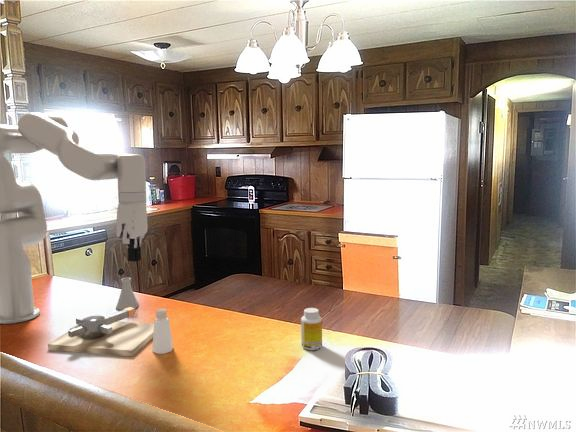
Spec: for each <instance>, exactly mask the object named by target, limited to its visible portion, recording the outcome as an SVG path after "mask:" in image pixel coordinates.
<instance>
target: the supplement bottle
mask: <svg viewBox="0 0 576 432" xmlns="http://www.w3.org/2000/svg"><path fill="white" fill-rule="evenodd" d="M319 311H320V310H319V309H318V308H316V307H308V308H305V309H304V310H303V316H301V318H300V327H301V328H300V330H301V335H300V336H301V347H302V349H304V350H307V351H317V350H320V349H321V348H322V347H323V317H321V315H320V312H319ZM319 348H320V349H319ZM316 349H317V350H316Z"/></svg>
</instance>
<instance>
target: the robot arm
mask: <svg viewBox="0 0 576 432" xmlns="http://www.w3.org/2000/svg"><path fill="white" fill-rule="evenodd" d="M79 141H80V139H79V135H78V134H77V133H76V131H74V130H72V129H70V128H69V127H68V123H67V122H66V121H65V119H63V118H62V117H61V116H59V115H56V114H50V113H41V112H29V113H25V114H23V115H22V116H21V117H19V119H18V121H17V125H10V124H0V215H2V216H3V215H10V214H17V216H16V217H8V218H3V219H0V324H1V325H8V324H9V325H10V324H19V323H23V322H26V321H30V320H32V319H35V318H37V317H38V316H39V315H40V314H41V311H40V310H41V309H40V308H38V307H36V306H35V303H34V291H33V289H34V288H33V280H32V278H33V277H32V269H31V260H30V257H29V255H28V254H27V252H26V251H25V249H24V247H26V246H31V245H34V244H37V243H40V242H41V241H43V240H44V239H45V238H46V236H47V233H48V228H47V227H48V226H47V225H48V224H47V220H46V215H45V210H44V209H45V208H44V202H43V199H42V195H41V193H40V191H39V189H38V188H37V187H36V186H35V185H33V184H32V183H31V182H28V181H26V182H25V181H20V182H19V181H17V180H16V177H15V171H14V168H13V166H12V164H11V163H10V161H9V160H8V159H7V157H5V154H24V155H25V154H33V153H37V152H39V151H41V150H46V151H48V152H50V153H51V154H53V155H55V156H57V158H58V160H59V161H60V163H61V164H62V166H63V167H64V168H65V169H67V170H68V171H70V172H71V173H72V172H73V173H74V174H76V175H77V176H80V177H81V178H84V179H87V180H89V181H104V180H117V197H118V204H117V209H116V238H117V239H122V242H121V243H122V244H123V245H126V248H127V261H128V262H134V263H135V262H139V261H140V262H141V261H142V253H141V252H142V251H141V250H142V249H141V248H142V243H143V242H142V241H143V239H144V238H145V235H146V234H147V233H148V213H147V212H148V211H147V205H146V203H147V186H146V185H147V184H146V183H147V182H146V181H147V179H146V178H147V177H146V176H147V175H146V158H145V157H144V155H143V154H139V153H138V154H137V153H135V154H134V153H124V154H123V153H121V154H120V153H116V152H115V153H114V152H92V151H90V150H88V149H86V148H84V147H82V146H80V145H79V143H80V142H79Z"/></svg>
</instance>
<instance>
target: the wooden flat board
mask: <svg viewBox="0 0 576 432" xmlns="http://www.w3.org/2000/svg"><path fill="white" fill-rule="evenodd" d="M80 326H81V325H78V324H76V325H74V326H72V327H71V328H69V330H71V329H74V328H77V327H80ZM107 326H110V327H112V333H110V334H105V335H104V336H102V337H100V338H96V339H84V338H83V337H82V334H80V335H77V336H75V337H72V338H71V337H69V336H68V331H67V332H65V333H63V334H62V335H60V336H59V337H57V338H55V339H53V340H52V341H50V342H49V343H47V350H48V351H55V352H56V351H59V352H69V353H70V352H71V353H72V352H73V353H85V354H96V355H97V354H98V355H110V356H122V357H123V356H124V357H133V356H135V355H136V354H137V353H138V352H139V351H140V350H141V349H143V348H144V347H145V346H146V345H147V344H148V343H149V342H151V341H152V340H153V333H154V322H153V323H151V322H150V323H149V322H138V321H137V322H135V321H122V320H120V321H117V322H115V323H112V324H109V325H107Z"/></svg>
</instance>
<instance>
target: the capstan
mask: <svg viewBox="0 0 576 432" xmlns="http://www.w3.org/2000/svg"><path fill="white" fill-rule="evenodd" d="M134 316H136V308H132V307H128V308H126V309H123V310H118V311H117V312H114V313H110V314H109V315H105V316H104V315H91V316H87V317H82V316H79V317H76V318H75V323H76V325H77V324H78V325H81V326H80V327H77V328H74V329H71V328H70V329H71V330H70V329H69V330H67V332H68V336H69V337H71V338H72V337H75V336H77V335H80V334H82V337H83V338H84V339H96V338H100V337H102V336H104V335H105V334H110V333H112V327H110V326H107V325H109V324H112V323H115V322H117V321H122V320H123V321H124V319H127V318H131V317H134Z"/></svg>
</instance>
